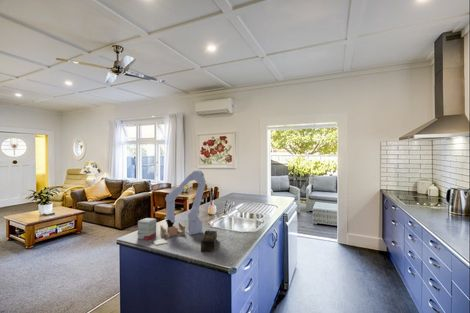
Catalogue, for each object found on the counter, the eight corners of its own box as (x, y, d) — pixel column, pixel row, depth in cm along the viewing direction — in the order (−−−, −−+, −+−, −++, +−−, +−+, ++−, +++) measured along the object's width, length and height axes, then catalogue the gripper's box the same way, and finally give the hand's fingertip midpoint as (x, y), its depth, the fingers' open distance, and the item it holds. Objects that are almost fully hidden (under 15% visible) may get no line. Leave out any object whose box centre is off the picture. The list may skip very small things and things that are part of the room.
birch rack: (180, 230, 162) (180, 222, 162) (184, 235, 153) (184, 226, 153) (160, 233, 155) (160, 225, 155) (163, 238, 146) (164, 229, 146)
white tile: (164, 239, 145) (164, 238, 145) (167, 243, 139) (167, 242, 139) (153, 241, 141) (153, 240, 141) (155, 245, 135) (155, 244, 135)
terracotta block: (176, 233, 157) (176, 225, 157) (177, 234, 154) (177, 227, 154) (167, 234, 154) (167, 227, 154) (168, 236, 151) (168, 228, 151)
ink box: (156, 235, 151) (156, 218, 151) (148, 240, 143) (148, 221, 143) (145, 234, 154) (145, 217, 153) (137, 238, 145) (137, 220, 145)
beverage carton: (217, 239, 146) (217, 229, 146) (214, 252, 127) (214, 241, 127) (204, 239, 146) (205, 229, 146) (200, 252, 127) (200, 241, 127)
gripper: (162, 209, 163) (162, 227, 163) (167, 213, 151) (167, 234, 151) (172, 208, 167) (171, 226, 167) (177, 212, 154) (177, 232, 154)
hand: (170, 229), depth 159 cm, fingers closed
